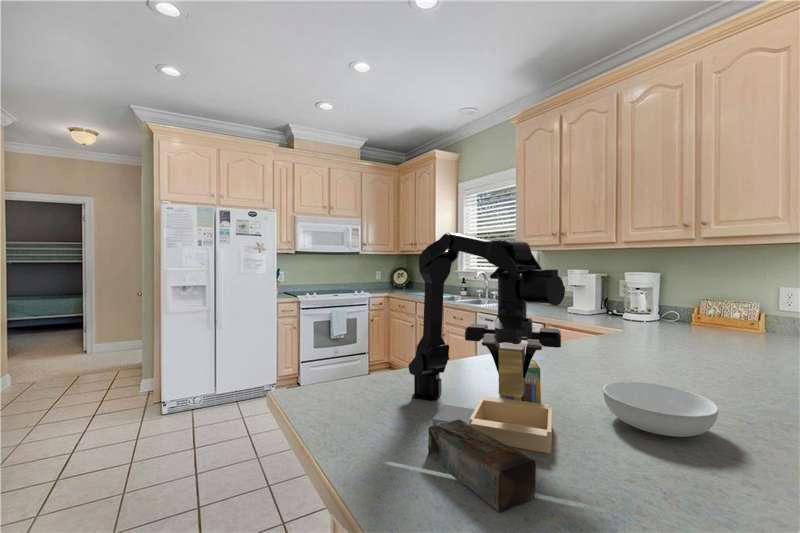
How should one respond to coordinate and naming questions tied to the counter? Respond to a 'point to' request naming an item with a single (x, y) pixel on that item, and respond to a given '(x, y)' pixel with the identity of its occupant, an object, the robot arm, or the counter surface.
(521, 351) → the brown wooden block
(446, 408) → the trivet
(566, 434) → the counter surface
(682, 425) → the serving bowl
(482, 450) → the beverage carton
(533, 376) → the chalk box
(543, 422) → the wooden tray
